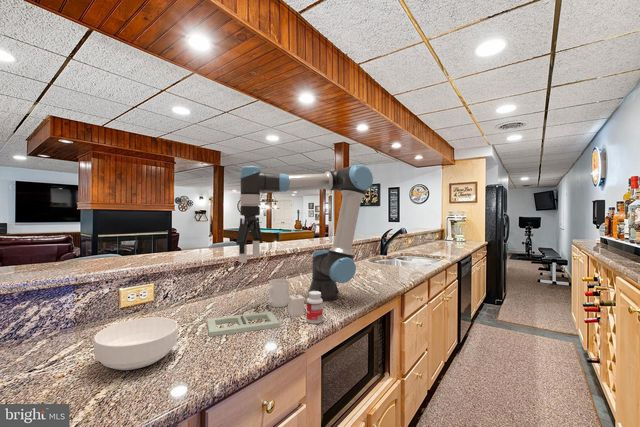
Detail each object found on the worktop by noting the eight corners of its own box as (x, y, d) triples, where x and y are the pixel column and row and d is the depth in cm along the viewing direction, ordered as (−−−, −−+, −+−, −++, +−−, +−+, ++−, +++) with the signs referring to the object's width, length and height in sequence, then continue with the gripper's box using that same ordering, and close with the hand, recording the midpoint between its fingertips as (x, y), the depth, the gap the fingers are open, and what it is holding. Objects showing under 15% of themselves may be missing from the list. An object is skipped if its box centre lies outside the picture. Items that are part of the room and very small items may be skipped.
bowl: (82, 387, 69) (82, 351, 69) (104, 350, 87) (105, 321, 87) (175, 371, 77) (176, 339, 77) (178, 340, 95) (179, 314, 95)
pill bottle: (306, 318, 117) (307, 290, 117) (322, 318, 117) (323, 290, 117) (305, 324, 111) (306, 294, 111) (322, 324, 111) (323, 295, 111)
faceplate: (270, 315, 120) (270, 309, 119) (279, 327, 108) (279, 321, 108) (207, 322, 110) (207, 317, 110) (209, 336, 98) (209, 330, 98)
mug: (258, 306, 130) (259, 281, 130) (279, 300, 139) (280, 277, 139) (271, 311, 124) (271, 285, 124) (292, 304, 133) (292, 281, 133)
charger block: (299, 311, 125) (300, 294, 125) (303, 315, 120) (304, 297, 120) (288, 312, 123) (288, 295, 123) (292, 316, 118) (292, 298, 118)
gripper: (252, 205, 130) (252, 254, 130) (226, 205, 105) (226, 264, 106) (269, 206, 129) (269, 254, 129) (246, 205, 104) (246, 265, 105)
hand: (249, 259), depth 118 cm, fingers open, 13 cm apart
